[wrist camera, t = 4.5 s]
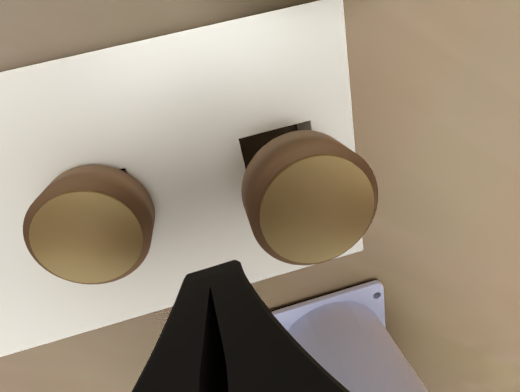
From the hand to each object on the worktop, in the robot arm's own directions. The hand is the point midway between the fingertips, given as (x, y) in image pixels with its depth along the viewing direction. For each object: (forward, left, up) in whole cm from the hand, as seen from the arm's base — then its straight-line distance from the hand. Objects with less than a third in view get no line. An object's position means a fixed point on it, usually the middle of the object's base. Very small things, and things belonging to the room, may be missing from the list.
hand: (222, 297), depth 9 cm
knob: (0, -3, -7) cm, 8 cm away
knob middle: (0, +5, -10) cm, 11 cm away
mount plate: (0, +5, -10) cm, 11 cm away
